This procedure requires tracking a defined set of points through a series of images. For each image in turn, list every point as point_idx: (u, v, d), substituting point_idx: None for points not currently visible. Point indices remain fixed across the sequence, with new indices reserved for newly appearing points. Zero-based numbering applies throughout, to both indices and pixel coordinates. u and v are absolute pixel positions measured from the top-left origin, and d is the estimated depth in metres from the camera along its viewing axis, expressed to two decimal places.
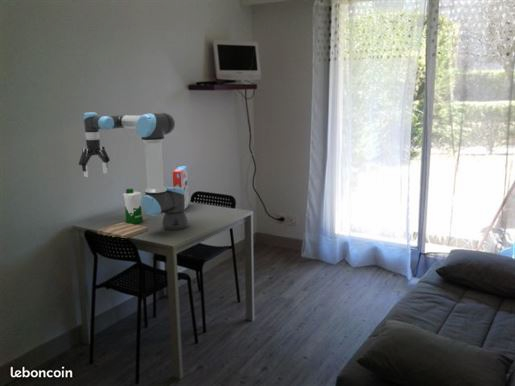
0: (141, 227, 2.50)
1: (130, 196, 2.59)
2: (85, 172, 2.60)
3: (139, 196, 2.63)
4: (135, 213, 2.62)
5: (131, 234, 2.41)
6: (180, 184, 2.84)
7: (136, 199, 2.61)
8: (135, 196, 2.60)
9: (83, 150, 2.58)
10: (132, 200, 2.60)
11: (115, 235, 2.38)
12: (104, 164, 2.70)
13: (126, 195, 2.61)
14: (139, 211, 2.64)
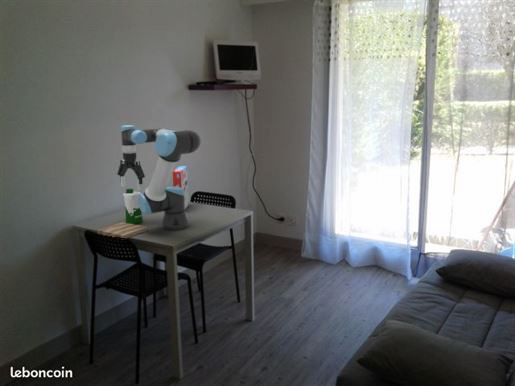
0: (141, 227, 2.50)
1: (130, 196, 2.59)
2: None
3: None
4: (135, 213, 2.62)
5: (131, 234, 2.41)
6: (180, 184, 2.84)
7: (136, 199, 2.61)
8: (135, 196, 2.60)
9: None
10: (132, 200, 2.60)
11: (115, 235, 2.38)
12: None
13: (126, 195, 2.61)
14: (139, 211, 2.64)
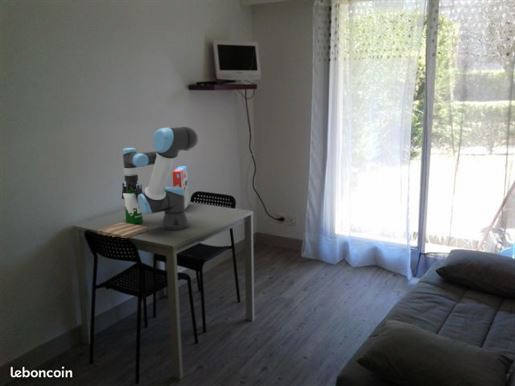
0: (141, 227, 2.50)
1: (130, 196, 2.59)
2: None
3: None
4: (135, 213, 2.62)
5: (131, 234, 2.41)
6: (180, 184, 2.84)
7: (136, 199, 2.61)
8: (135, 196, 2.60)
9: None
10: (132, 200, 2.60)
11: (115, 235, 2.38)
12: None
13: (126, 195, 2.61)
14: None
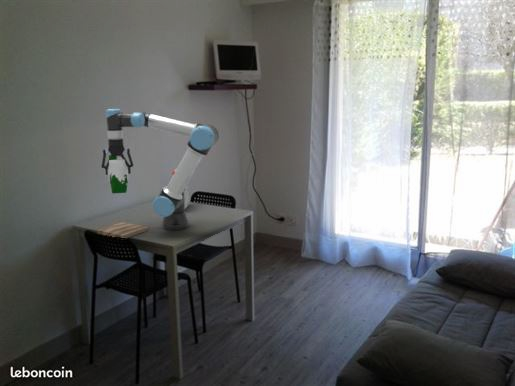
0: (141, 227, 2.50)
1: (121, 161, 2.37)
2: (108, 176, 2.40)
3: None
4: (126, 180, 2.41)
5: (131, 234, 2.41)
6: None
7: (125, 164, 2.40)
8: (124, 161, 2.40)
9: (103, 151, 2.37)
10: (123, 166, 2.38)
11: (115, 235, 2.38)
12: None
13: (115, 161, 2.36)
14: None
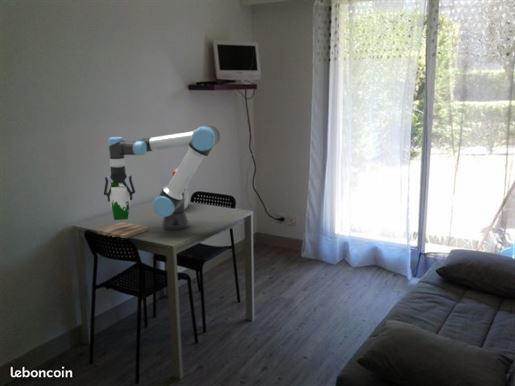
0: (141, 227, 2.50)
1: (123, 189, 2.40)
2: (110, 202, 2.43)
3: None
4: (127, 206, 2.44)
5: (131, 234, 2.41)
6: None
7: (127, 191, 2.43)
8: (126, 188, 2.43)
9: None
10: (125, 193, 2.41)
11: (115, 235, 2.38)
12: None
13: (117, 189, 2.39)
14: None
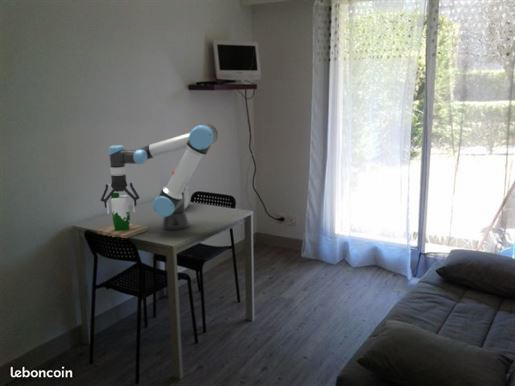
0: (141, 227, 2.50)
1: (123, 199, 2.41)
2: (107, 208, 2.44)
3: (127, 199, 2.47)
4: (128, 217, 2.45)
5: (131, 234, 2.41)
6: None
7: (127, 202, 2.45)
8: (127, 199, 2.44)
9: None
10: (125, 203, 2.42)
11: (115, 235, 2.38)
12: None
13: (117, 199, 2.40)
14: (129, 215, 2.48)
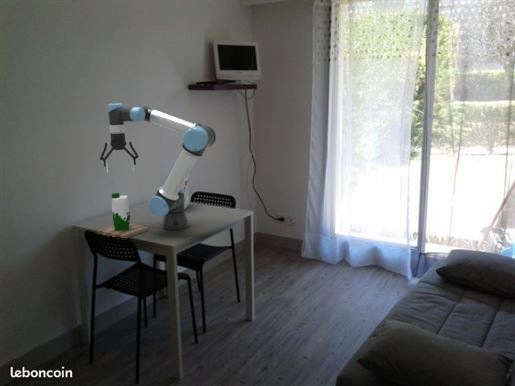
0: (141, 227, 2.50)
1: (124, 200, 2.41)
2: (106, 167, 2.42)
3: (127, 199, 2.47)
4: (128, 217, 2.45)
5: (131, 234, 2.41)
6: None
7: (128, 202, 2.45)
8: (127, 199, 2.44)
9: (105, 144, 2.40)
10: (126, 204, 2.42)
11: (115, 235, 2.38)
12: (132, 161, 2.45)
13: (117, 200, 2.40)
14: (129, 215, 2.48)
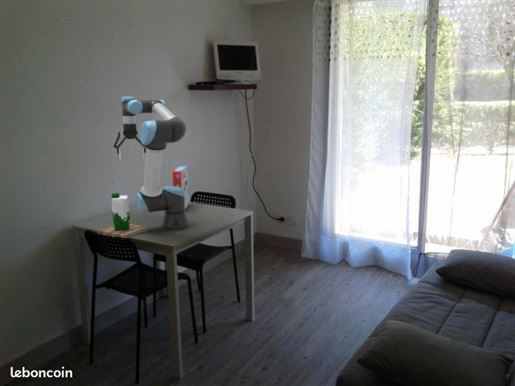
0: (141, 227, 2.50)
1: (124, 200, 2.41)
2: (119, 155, 2.67)
3: (127, 199, 2.47)
4: (128, 217, 2.45)
5: (131, 234, 2.41)
6: (180, 184, 2.84)
7: (128, 202, 2.45)
8: (127, 199, 2.44)
9: (118, 133, 2.65)
10: (126, 204, 2.42)
11: (115, 235, 2.38)
12: None
13: (117, 200, 2.40)
14: (129, 215, 2.48)
